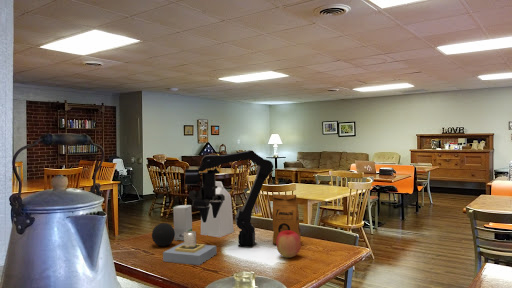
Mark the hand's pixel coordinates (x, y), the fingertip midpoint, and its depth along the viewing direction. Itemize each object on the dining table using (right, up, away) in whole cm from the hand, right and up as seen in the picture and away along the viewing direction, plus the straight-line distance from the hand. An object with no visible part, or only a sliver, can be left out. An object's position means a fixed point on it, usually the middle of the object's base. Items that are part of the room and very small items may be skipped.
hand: (209, 220), depth 165 cm
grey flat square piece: (-6, -12, -14) cm, 19 cm away
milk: (+1, -12, +26) cm, 28 cm away
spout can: (-7, -11, -13) cm, 19 cm away
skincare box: (-15, -12, +17) cm, 25 cm away
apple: (+33, -12, -16) cm, 38 cm away
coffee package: (+34, -11, +3) cm, 36 cm away
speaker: (-21, -13, +5) cm, 25 cm away
